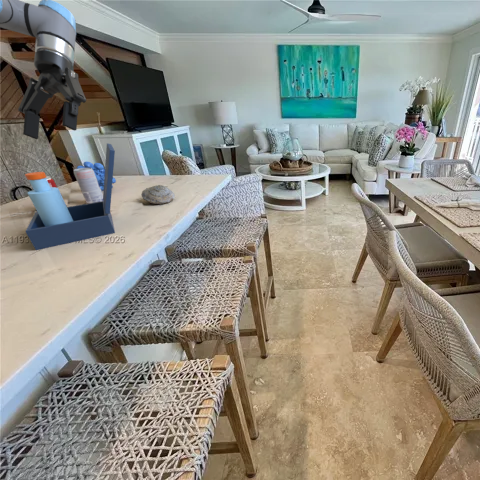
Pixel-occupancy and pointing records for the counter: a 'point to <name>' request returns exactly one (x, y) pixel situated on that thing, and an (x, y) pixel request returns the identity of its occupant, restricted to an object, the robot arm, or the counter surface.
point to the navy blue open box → (71, 226)
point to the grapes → (97, 173)
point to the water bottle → (47, 200)
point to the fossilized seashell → (158, 194)
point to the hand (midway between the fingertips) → (49, 132)
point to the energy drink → (88, 185)
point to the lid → (108, 177)
